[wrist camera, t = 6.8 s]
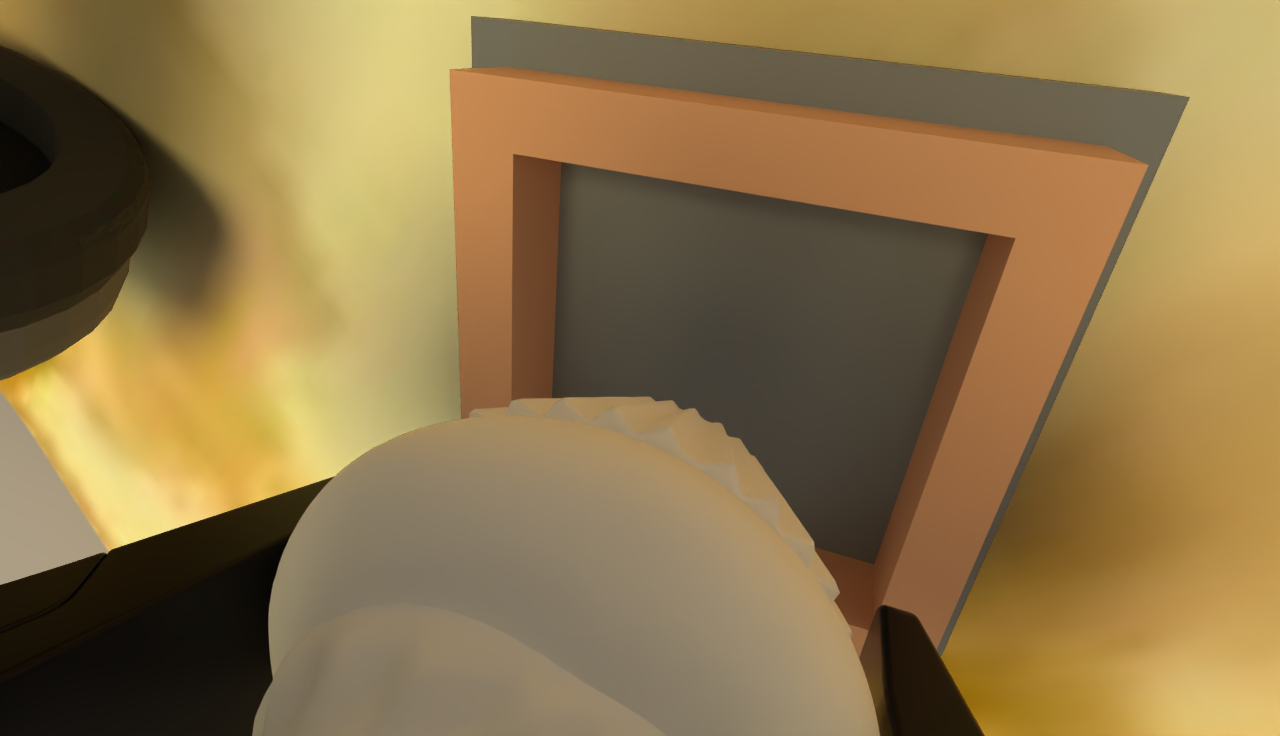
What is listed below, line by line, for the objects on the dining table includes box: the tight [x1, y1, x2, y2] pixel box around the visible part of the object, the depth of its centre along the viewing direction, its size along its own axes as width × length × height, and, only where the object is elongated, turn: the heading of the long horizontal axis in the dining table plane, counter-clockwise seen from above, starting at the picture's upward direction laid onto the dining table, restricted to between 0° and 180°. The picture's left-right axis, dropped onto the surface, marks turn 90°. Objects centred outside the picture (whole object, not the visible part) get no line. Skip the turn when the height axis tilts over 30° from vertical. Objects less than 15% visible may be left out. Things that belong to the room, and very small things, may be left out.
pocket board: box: [450, 16, 1190, 658], centre depth 14 cm, size 12×12×4 cm
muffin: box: [252, 397, 880, 736], centre depth 7 cm, size 6×6×7 cm
